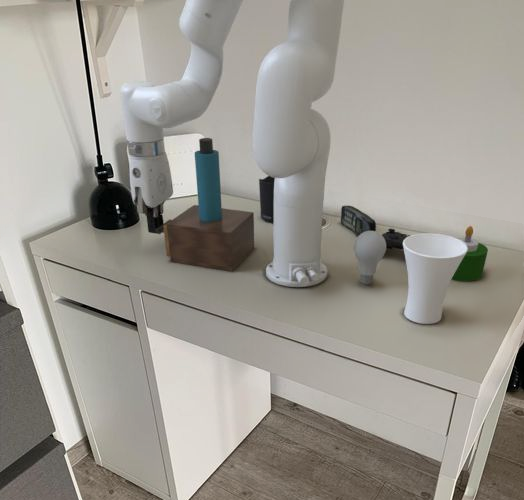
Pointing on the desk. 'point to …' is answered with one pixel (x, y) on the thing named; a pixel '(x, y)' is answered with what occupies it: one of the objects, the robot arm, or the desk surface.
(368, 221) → the mobile phone
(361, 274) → the lightbulb
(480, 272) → the candle
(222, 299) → the desk surface
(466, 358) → the desk surface
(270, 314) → the desk surface
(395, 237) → the gaming controller
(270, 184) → the pen holder
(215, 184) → the teal bottle
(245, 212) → the cabinet
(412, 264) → the cup
